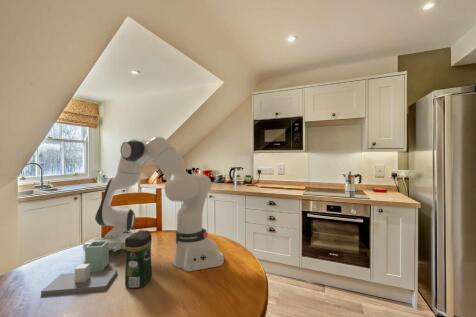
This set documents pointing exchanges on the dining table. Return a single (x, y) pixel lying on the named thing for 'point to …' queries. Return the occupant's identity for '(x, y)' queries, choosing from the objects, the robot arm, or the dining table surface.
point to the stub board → (80, 287)
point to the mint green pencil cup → (97, 255)
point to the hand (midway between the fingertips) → (101, 250)
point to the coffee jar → (138, 259)
